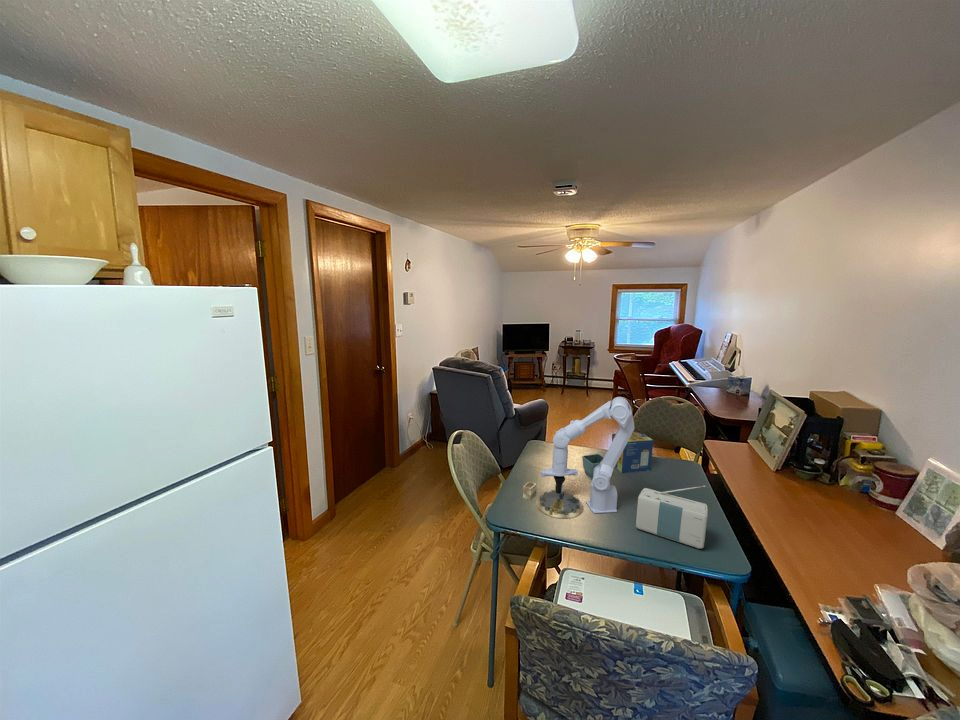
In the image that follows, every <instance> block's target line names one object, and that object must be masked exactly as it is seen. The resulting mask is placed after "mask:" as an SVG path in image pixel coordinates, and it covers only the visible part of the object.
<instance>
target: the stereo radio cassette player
mask: <svg viewBox="0 0 960 720" xmlns="http://www.w3.org/2000/svg"><path fill="white" fill-rule="evenodd" d="M702 487H703V488H706V485H702V486H693V487H686V488H680V489H679V488H678V489H673V490H666V491H658V490H655V489H651V488H647V487H644V488H643V489H642V490H641V491H640V493H639V495H638V497H637V507H636V517H635V518H636V521H635V527H636V529H638V530H640V531H644V532H646V533H650V534H653V535H656V536H658V537H659V536H660V537H662V538H665V539H668V540H672V541H675V542H677V543H681V544H684V545H687V546H690V547H693V548H696V549H704V547H705V542H706V540H705V539H706V531H707V525H708V524H707V523H708V516H709V513H708V505H707V504H706V503H705V502H700V501H696V500H692V499H690V498H689V499H688V498H684V497H682V496H681V497H680V496H679V495H678V496H677V495H673V494H669V493H674V492H680V491H681V492H682V491H686V490H693V489H697V488H699V489H700V488H702Z"/></svg>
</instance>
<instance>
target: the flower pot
mask: <svg viewBox="0 0 960 720" xmlns="http://www.w3.org/2000/svg"><path fill="white" fill-rule="evenodd" d="M581 457H582V466H583V470H584V472H585V474H586V476H588V477H589V479H591V480H592V479H593V474H594V473H593V472H594V468H595V467H596V466H598V465H599V464H600V462H601V461H602V460H603V458H604V456H602V455H601V454H600V453H594V454H585V455H582V456H581Z"/></svg>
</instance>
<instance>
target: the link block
mask: <svg viewBox="0 0 960 720" xmlns="http://www.w3.org/2000/svg"><path fill="white" fill-rule="evenodd" d="M535 497H537V483H535V482H532V481H528V482H526V483H525V484H524V485H523V487H522V498H523V499H525V500H529V501H532V500H533V498H535Z"/></svg>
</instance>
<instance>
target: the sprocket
mask: <svg viewBox="0 0 960 720" xmlns="http://www.w3.org/2000/svg"><path fill="white" fill-rule="evenodd" d="M543 494H544V495H543ZM543 494H542V495H543V496H541V495H539V496H540V505H541V506H544V507H545V510H546V511H549V510H550V509H552V512H554V514H557V515H558V513H559V514H564V515H568V513H571V512H573V513H576V512H577V509H579V508H580V503H579V500H580V499H579V498H578V497H576V498H575V496H574V494H573V493H569V492H566V491H565V484H562V486H561V494H557V493H556V491H555V489H552V490H551V491H549V492H547V491H545V492H543Z"/></svg>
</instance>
